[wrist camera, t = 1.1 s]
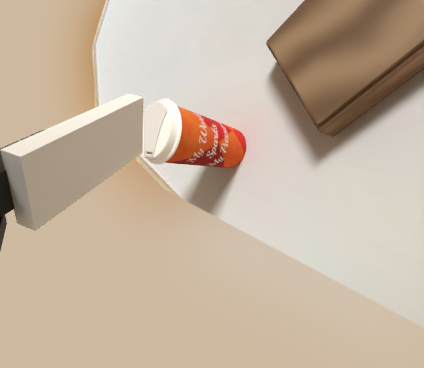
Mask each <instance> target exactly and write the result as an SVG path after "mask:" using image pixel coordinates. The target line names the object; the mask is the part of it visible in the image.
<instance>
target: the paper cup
mask: <svg viewBox="0 0 424 368" xmlns="http://www.w3.org/2000/svg"><path fill="white" fill-rule="evenodd" d="M245 151H246V141H245V138H244V136H243V134H242V133H241V132H240V131H238V130H236V129H234V128H231V127H229V126H227V125H224V124H222V123H219V122H216V121H214V120H211V119H209V118H206V117H204V116H201V115H199V114H196V113H193V112H191V111H188V110H186V109H183V108H180V107H178V106H176V104H175V103H174V102H172V101H170V100H169V99H162V100H157V101H155V102H154V103H151V104H150V105H148V106H147V107H146V108H145V110H144V111H143V153H141V155H142V156H143V157H144V158H147V159H148V160H149V161H150V162H152V163H154V164H162V163H164V162H166V163H176V164H189V165H201V166H213V167H234V166H236V165H238V164H239V163H240V162H241V160H242V159H243V157H244V155H245Z"/></svg>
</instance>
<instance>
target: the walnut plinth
mask: <svg viewBox="0 0 424 368" xmlns="http://www.w3.org/2000/svg"><path fill="white" fill-rule="evenodd" d="M266 44H267V46H268V48H269V49H270V51H271V53H272V54H273V56H274V58H275V59H276V61H277V62H278V64H279V66H280V67H281V69H282V71H283V72H284V74H285V76H286V77H287V79H288V81H289V82H290V84H291V85H292V87H293V89H294V90H295V92H296V94H297V95H298V97H299V99H300V100H301V102H302V103H303V105H304V107H305V108H306V110H307V112H308V113H309V115H310V117H311V118H312V120H313V121H314V123H315V125H316V126H317V128H318V130H319V131H321V132H324V133H326V134H329V135H332V136H335V135H336V134H337V133H339V132H340V131H341V130H343V129H344V128H345V127H347V126H348V125H349V124H351V123H352V122H353V121H355V120H356V119H357V118H359V117H360V116H361V115H363V114H364V113H365V112H367V111H368V110H369V109H371V108H372V107H373V106H375V105H376V104H377V103H379V102H380V101H381V100H383V99H384V98H385V97H387V96H388V95H389V94H391V93H392V92H393V91H395V90H396V89H397V88H399V87H400V86H401V85H403V84H404V83H405V82H407V81H408V80H409V79H411V78H412V77H413V76H415V75H416V74H417V73H419V72H420V71H421V70H423V69H424V0H305V1H304V2H303V3H302V4H301V5H300V6H299V7H298V8H297V9H296V10H295V11H294V12H293V14H292V15H291V16H290V17H289V18H288V19H287V20H286V21H285V22H284V23H283V24H282V25H281V26H280V27H279V29H278V30H277V31H276V32H275V33H274V34H273V35H272V36H271V37H270V38H269V39H268V40H267V43H266Z"/></svg>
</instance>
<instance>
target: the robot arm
mask: <svg viewBox="0 0 424 368" xmlns="http://www.w3.org/2000/svg"><path fill="white" fill-rule="evenodd" d="M141 153H143V97H140V96H136V95H133V94H129V93H128V94H126V95H123V96H121V97H119V98H117V99H114V100H112V101H110V102H108V103H105V104H103V105H101V106H98V107H96V108H94V109H92V110H89V111H87V112H85V113H83V114H80V115H78V116H76V117H73V118H71V119H69V120H67V121H64V122H62V123H60V124H58V125H55V126H53V127H51V128H49V129H46V130H42V131H39V132H37V133H35V134H32V135H30V137H26V138H23V139H21V141H17V142H14V143H12V144H10V145H7V146H5V147H3V148H1V149H0V250H1V245H2V241H3V237H4V233H5V229H6V224H7V223H6V217H5V214H6V213H8V212H10V211H11V210H13V209H14V211H15V216H16V220H17V223H18V224H20V225H23V226H25V227H27V228H30V229H32V230H37V229H39V228H40V227H41V226H43V225H44V224H45V223H47V222H48V221H49V220H51V219H52V218H53V217H55V216H56V215H58V214H59V213H60V212H62V211H63V210H65V209H66V208H67V207H69V206H70V205H71V204H73V203H74V202H76V201H77V200H78V199H80V198H81V197H82V196H84V195H85V194H87V193H88V192H89V191H91V190H92V189H93V188H95V187H96V186H98V185H99V184H100V183H102V182H103V181H104V180H106V179H107V178H108V177H110V176H111V175H113V174H114V173H115V172H117V171H118V170H119V169H121V168H122V167H124V166H125V165H126V164H128V163H129V162H130V161H132V160H133V159H135V158H136V157H137V156H139V155H140V154H141Z"/></svg>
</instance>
